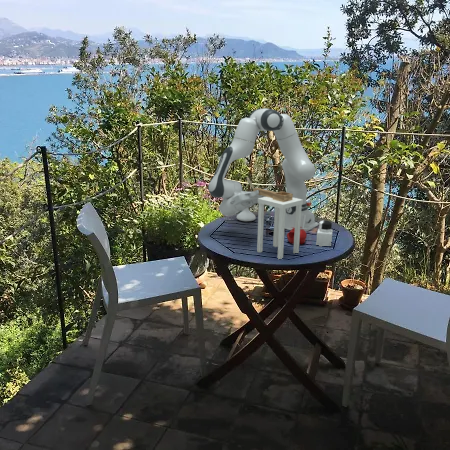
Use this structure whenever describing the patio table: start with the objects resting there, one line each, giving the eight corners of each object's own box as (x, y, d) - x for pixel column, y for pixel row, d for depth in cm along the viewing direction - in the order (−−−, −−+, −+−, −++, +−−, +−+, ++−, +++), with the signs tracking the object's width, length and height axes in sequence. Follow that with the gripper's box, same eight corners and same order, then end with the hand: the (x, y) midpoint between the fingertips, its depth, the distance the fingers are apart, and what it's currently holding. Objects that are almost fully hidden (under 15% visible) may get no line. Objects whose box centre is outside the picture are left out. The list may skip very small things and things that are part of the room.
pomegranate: (304, 239, 234) (305, 222, 231) (307, 246, 224) (308, 228, 221) (285, 239, 234) (286, 222, 231) (287, 245, 224) (288, 227, 222)
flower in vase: (254, 223, 260) (256, 180, 252) (235, 222, 261) (235, 179, 254) (256, 217, 272) (258, 176, 265) (238, 216, 274) (238, 175, 266)
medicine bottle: (331, 242, 229) (333, 220, 225) (330, 247, 222) (332, 224, 219) (317, 241, 231) (318, 219, 227) (316, 246, 224) (317, 222, 221)
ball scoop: (259, 192, 221) (259, 186, 220) (292, 199, 206) (292, 193, 206) (250, 194, 216) (250, 188, 215) (283, 202, 202) (283, 195, 201)
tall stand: (275, 245, 225) (277, 194, 217) (299, 253, 214) (303, 199, 207) (256, 251, 216) (258, 198, 208) (280, 260, 205) (283, 204, 198)
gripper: (225, 197, 219) (244, 187, 208) (254, 191, 232) (273, 182, 222) (230, 210, 218) (248, 200, 208) (259, 203, 232) (277, 194, 221)
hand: (261, 191), depth 215 cm, fingers closed on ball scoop, 2 cm apart
